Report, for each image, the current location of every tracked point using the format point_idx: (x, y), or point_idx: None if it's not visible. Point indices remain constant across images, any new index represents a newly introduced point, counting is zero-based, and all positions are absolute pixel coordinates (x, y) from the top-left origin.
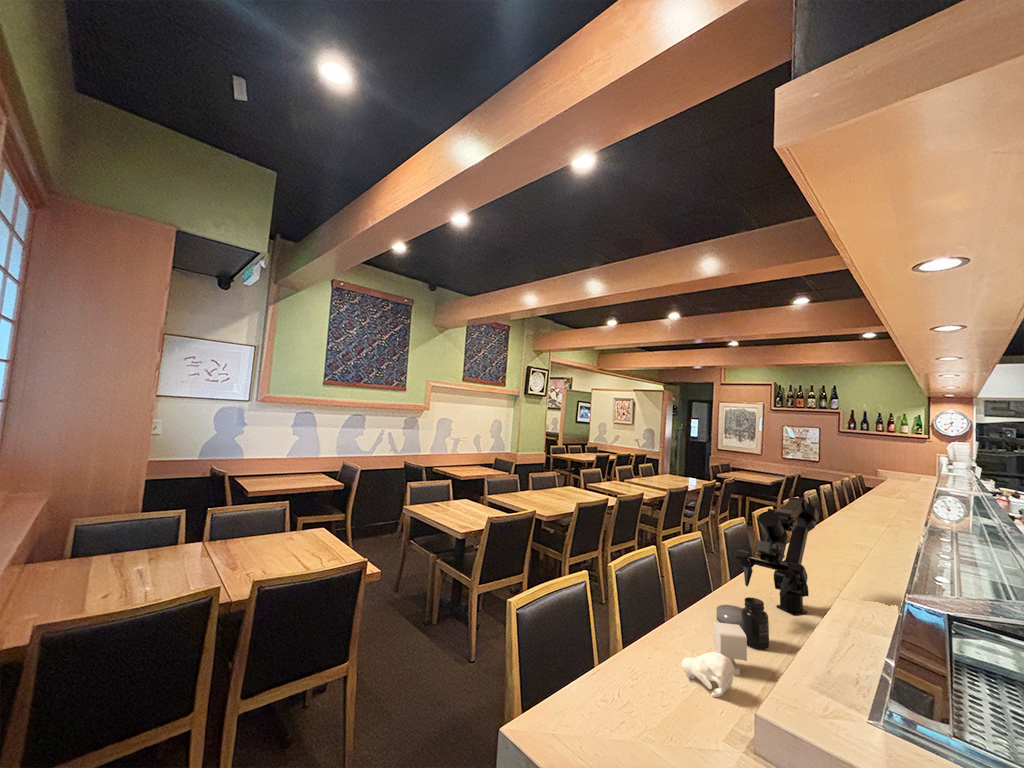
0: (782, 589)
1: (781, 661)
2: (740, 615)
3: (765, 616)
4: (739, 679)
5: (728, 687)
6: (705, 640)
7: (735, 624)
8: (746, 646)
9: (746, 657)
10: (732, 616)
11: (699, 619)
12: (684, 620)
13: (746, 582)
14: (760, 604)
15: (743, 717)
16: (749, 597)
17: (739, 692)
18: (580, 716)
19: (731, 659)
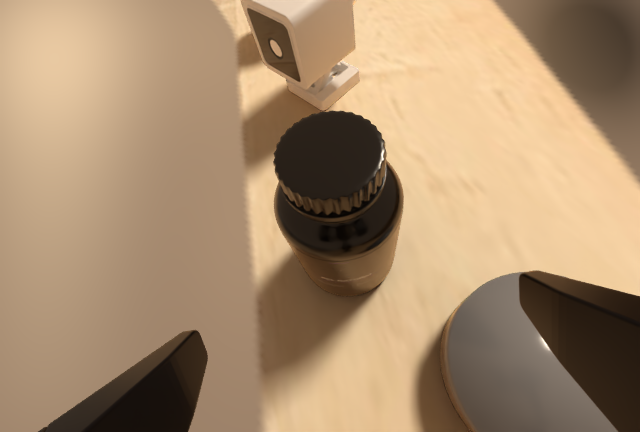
0: (142, 365)
1: (250, 227)
2: (502, 353)
3: (276, 192)
4: (282, 80)
5: None
6: (442, 133)
7: (294, 9)
8: (250, 25)
9: (260, 53)
10: (506, 297)
11: (598, 234)
12: (603, 173)
13: (540, 279)
14: (279, 142)
15: (233, 23)
16: (375, 169)
17: None
18: None
19: (321, 95)
